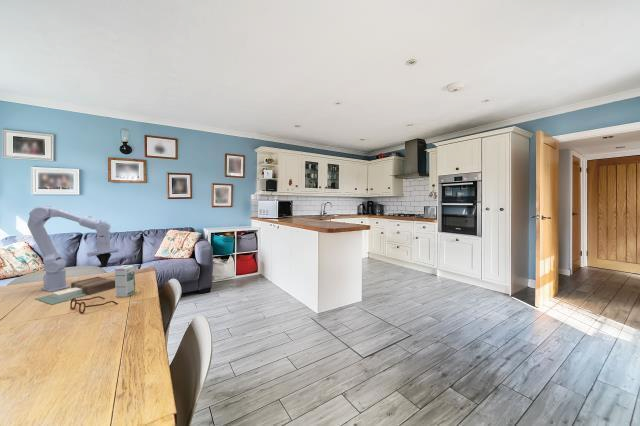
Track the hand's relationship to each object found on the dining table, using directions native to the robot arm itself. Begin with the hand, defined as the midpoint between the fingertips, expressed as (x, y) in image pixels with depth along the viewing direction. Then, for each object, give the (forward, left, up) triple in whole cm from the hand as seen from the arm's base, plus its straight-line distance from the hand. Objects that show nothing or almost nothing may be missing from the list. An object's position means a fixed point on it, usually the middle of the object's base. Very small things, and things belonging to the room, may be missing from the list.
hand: (104, 266), depth 147 cm
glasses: (+32, -20, -10) cm, 39 cm away
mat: (+6, -21, -9) cm, 24 cm away
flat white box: (+6, -19, -9) cm, 22 cm away
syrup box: (+30, -6, -10) cm, 32 cm away
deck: (+6, -8, -9) cm, 14 cm away
